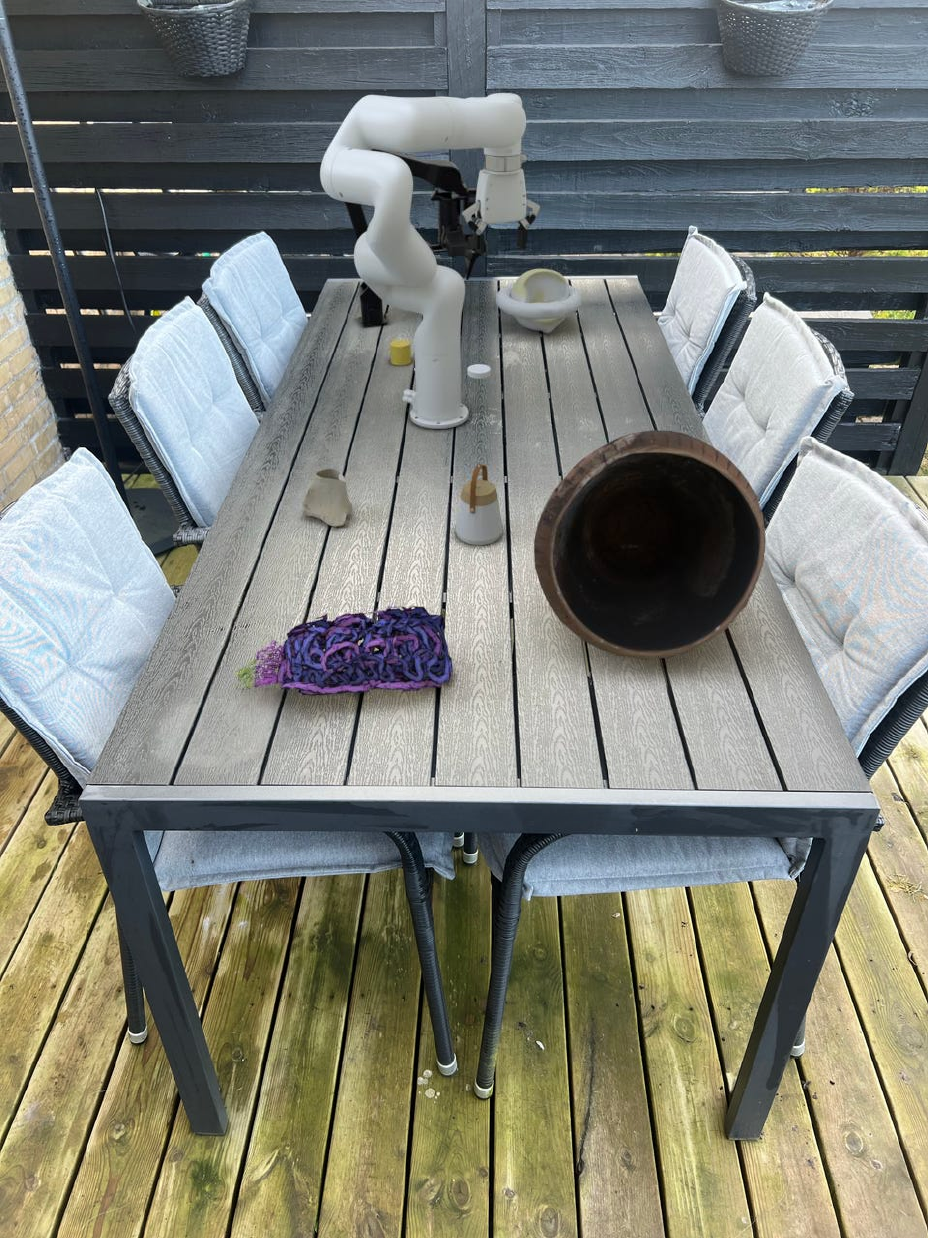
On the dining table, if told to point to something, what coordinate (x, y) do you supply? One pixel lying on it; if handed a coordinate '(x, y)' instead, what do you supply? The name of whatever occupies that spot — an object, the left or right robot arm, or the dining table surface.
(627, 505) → the pot
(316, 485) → the beige irregular piece
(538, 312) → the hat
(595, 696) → the dining table surface
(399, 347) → the tin
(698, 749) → the dining table surface
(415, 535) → the dining table surface
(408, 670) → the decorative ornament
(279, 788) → the dining table surface
